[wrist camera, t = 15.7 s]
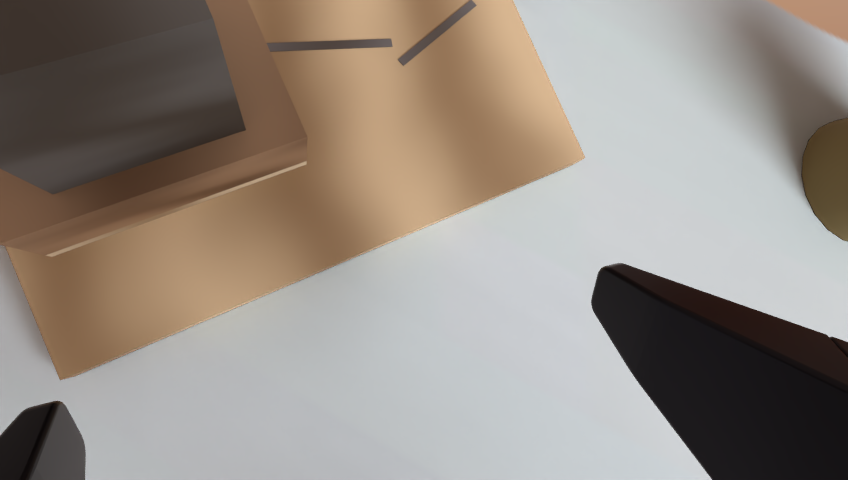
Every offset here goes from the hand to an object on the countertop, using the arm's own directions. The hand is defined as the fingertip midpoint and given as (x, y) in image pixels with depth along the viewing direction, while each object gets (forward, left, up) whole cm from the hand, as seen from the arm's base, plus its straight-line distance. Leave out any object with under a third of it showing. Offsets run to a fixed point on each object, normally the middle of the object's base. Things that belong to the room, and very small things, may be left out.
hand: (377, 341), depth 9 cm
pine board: (+7, +3, -10) cm, 12 cm away
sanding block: (+5, +7, -9) cm, 12 cm away
